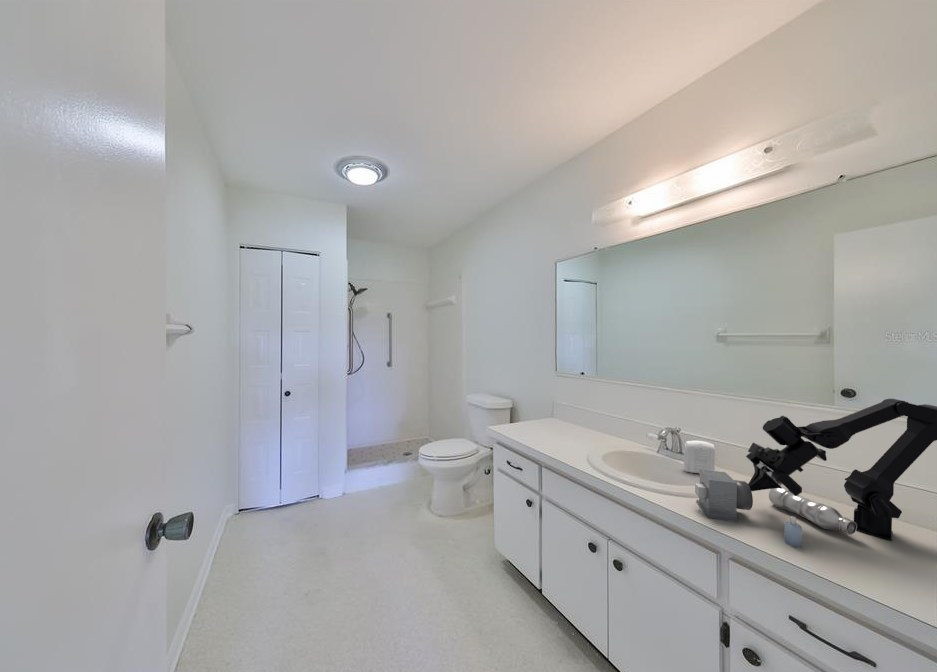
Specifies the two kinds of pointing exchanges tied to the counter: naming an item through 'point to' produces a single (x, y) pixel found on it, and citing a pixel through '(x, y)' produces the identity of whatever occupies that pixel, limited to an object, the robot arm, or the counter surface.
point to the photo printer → (698, 456)
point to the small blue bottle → (792, 533)
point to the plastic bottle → (812, 511)
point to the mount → (719, 496)
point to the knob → (742, 494)
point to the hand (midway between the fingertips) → (747, 489)
